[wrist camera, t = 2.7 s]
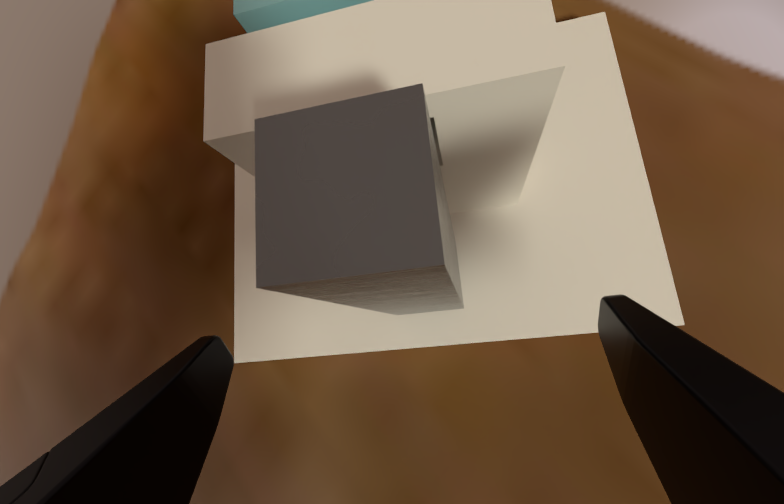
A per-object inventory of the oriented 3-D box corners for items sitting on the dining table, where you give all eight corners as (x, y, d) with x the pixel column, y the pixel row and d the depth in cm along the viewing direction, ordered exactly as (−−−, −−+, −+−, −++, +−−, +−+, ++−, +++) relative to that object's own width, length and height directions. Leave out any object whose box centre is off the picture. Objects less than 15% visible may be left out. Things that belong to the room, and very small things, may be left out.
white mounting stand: (666, 325, 16) (1006, 317, 6) (251, 360, 20) (7, 394, 10) (595, 34, 20) (733, -302, 9) (249, 110, 23) (67, -68, 13)
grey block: (464, 308, 16) (444, 264, 5) (396, 315, 17) (256, 287, 6) (434, 78, 19) (380, -268, 8) (376, 91, 20) (251, -217, 9)
